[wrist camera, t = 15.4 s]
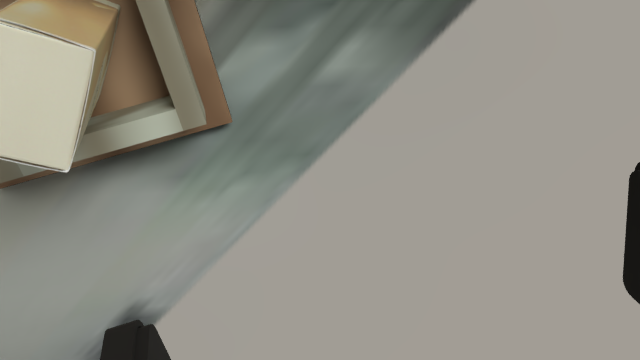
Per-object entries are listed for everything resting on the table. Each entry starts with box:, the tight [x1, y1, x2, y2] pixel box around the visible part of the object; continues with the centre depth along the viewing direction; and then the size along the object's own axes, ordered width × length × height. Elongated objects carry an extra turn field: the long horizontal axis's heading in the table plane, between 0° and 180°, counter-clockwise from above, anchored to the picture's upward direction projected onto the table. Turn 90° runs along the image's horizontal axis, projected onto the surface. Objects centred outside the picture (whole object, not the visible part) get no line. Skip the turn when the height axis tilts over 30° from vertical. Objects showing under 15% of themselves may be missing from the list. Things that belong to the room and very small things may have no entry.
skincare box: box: [0, 0, 121, 173], centre depth 29 cm, size 6×4×12 cm
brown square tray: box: [0, 0, 232, 189], centre depth 34 cm, size 16×16×4 cm
